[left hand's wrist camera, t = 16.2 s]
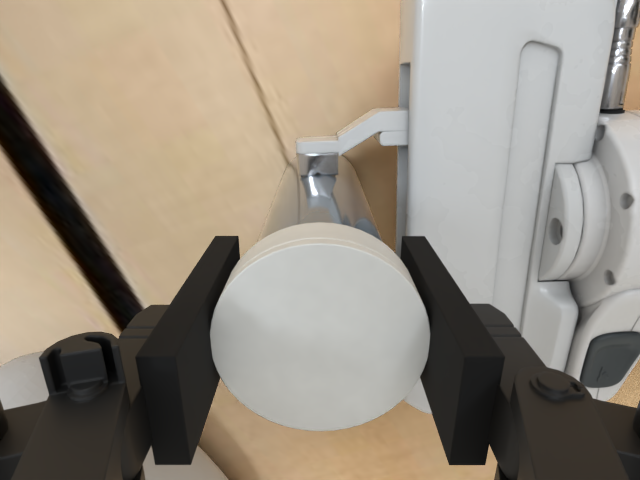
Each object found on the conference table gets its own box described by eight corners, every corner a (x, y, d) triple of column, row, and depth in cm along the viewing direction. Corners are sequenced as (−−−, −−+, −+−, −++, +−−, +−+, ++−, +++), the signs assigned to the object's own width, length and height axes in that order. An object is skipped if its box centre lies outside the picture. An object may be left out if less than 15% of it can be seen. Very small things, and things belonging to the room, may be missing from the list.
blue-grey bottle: (276, 217, 27) (222, 390, 12) (287, 142, 25) (239, 232, 10) (350, 229, 27) (387, 413, 12) (365, 155, 25) (431, 263, 10)
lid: (368, 412, 13) (374, 454, 12) (199, 357, 12) (183, 395, 11) (452, 264, 11) (471, 292, 10) (260, 190, 11) (251, 207, 9)
